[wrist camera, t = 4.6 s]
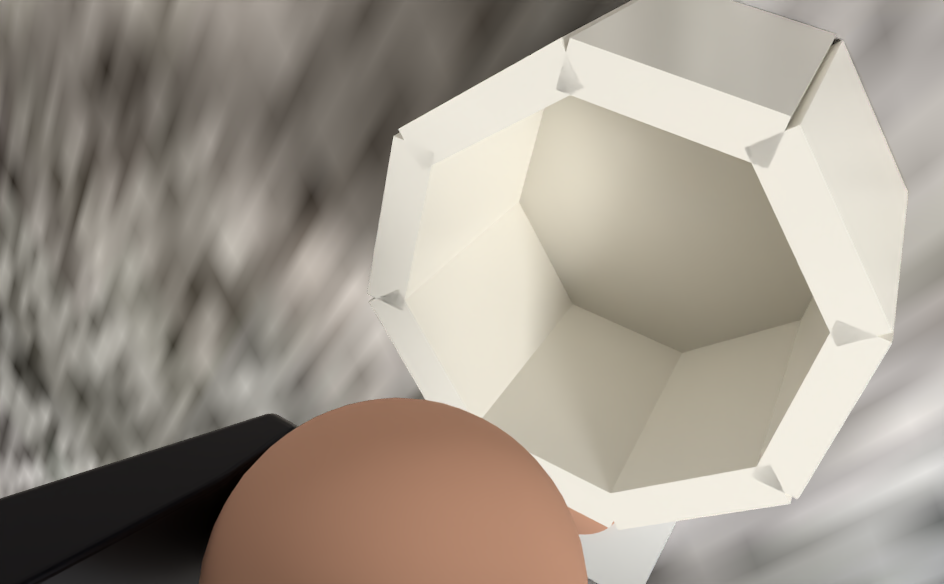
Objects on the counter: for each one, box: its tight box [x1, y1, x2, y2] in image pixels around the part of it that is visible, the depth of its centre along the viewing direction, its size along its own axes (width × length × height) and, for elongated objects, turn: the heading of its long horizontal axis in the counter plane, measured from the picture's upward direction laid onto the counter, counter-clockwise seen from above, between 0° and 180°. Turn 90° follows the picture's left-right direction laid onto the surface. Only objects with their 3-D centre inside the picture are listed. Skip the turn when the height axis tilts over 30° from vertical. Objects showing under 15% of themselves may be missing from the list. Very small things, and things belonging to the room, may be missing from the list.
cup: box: [367, 0, 908, 530], centre depth 17 cm, size 8×8×6 cm
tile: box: [568, 507, 677, 584], centre depth 24 cm, size 6×6×1 cm
